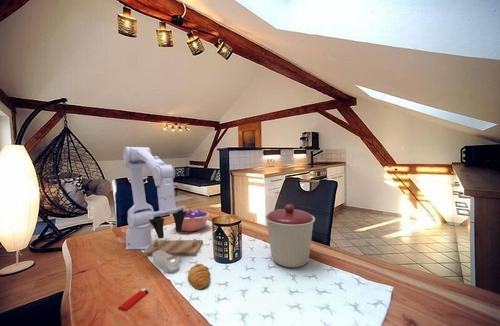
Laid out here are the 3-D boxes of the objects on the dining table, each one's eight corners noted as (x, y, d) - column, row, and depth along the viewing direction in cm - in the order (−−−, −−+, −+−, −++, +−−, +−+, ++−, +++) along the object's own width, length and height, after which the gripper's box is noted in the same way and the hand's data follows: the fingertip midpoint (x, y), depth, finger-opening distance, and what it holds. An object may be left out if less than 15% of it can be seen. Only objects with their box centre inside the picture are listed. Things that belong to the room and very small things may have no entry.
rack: (142, 256, 82) (142, 246, 82) (156, 243, 94) (156, 234, 94) (195, 256, 82) (195, 246, 82) (202, 243, 94) (202, 234, 94)
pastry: (214, 286, 63) (214, 274, 63) (192, 294, 60) (191, 280, 60) (206, 271, 71) (206, 260, 71) (186, 277, 68) (186, 265, 68)
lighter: (118, 306, 54) (142, 287, 61) (118, 310, 54) (142, 291, 62) (126, 308, 53) (150, 289, 61) (126, 313, 53) (150, 293, 61)
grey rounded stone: (151, 263, 76) (151, 253, 76) (161, 259, 80) (161, 249, 80) (171, 274, 69) (171, 263, 69) (181, 269, 72) (181, 258, 72)
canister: (314, 278, 66) (314, 212, 65) (259, 269, 72) (259, 208, 71) (315, 253, 83) (315, 200, 82) (271, 247, 89) (271, 198, 88)
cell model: (180, 224, 122) (180, 204, 121) (213, 224, 119) (213, 205, 119) (166, 235, 105) (165, 212, 104) (204, 236, 103) (203, 213, 102)
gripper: (154, 200, 68) (158, 242, 67) (189, 193, 80) (193, 229, 79) (142, 201, 72) (146, 240, 71) (177, 195, 84) (181, 228, 83)
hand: (170, 234), depth 75 cm, fingers open, 7 cm apart
